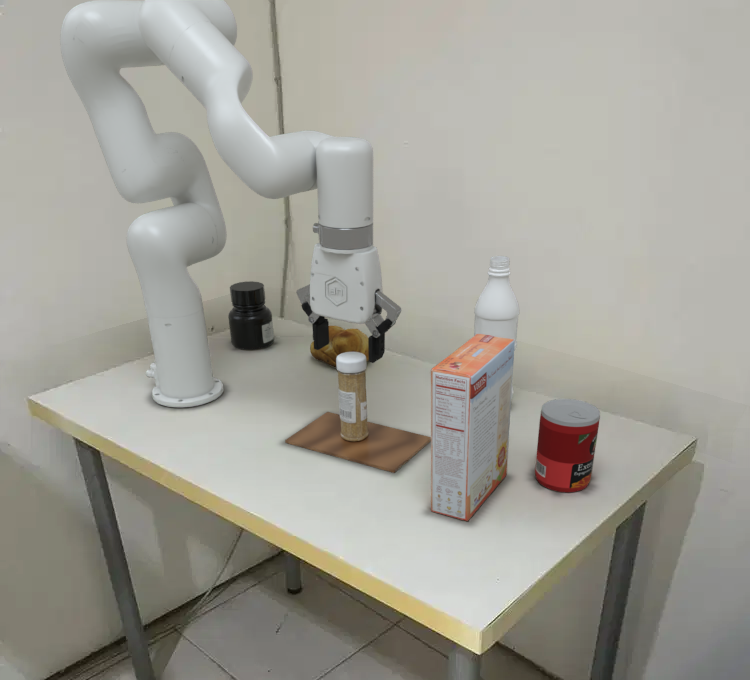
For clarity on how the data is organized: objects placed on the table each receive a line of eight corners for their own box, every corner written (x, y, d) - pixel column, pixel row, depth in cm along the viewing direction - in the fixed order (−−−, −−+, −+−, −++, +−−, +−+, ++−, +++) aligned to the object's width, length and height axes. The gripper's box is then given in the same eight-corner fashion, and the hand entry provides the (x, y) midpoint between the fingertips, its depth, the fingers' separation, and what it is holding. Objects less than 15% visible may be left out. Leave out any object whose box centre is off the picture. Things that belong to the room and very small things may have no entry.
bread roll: (300, 362, 151) (297, 322, 147) (333, 347, 158) (331, 309, 154) (349, 377, 144) (348, 336, 140) (382, 361, 151) (381, 321, 147)
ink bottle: (278, 348, 158) (272, 290, 152) (234, 353, 156) (227, 295, 150) (270, 333, 166) (264, 277, 160) (229, 338, 164) (222, 281, 158)
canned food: (579, 499, 106) (590, 427, 100) (525, 484, 110) (532, 414, 104) (597, 475, 112) (608, 405, 106) (545, 461, 115) (553, 393, 109)
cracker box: (469, 467, 114) (476, 331, 103) (507, 476, 112) (518, 338, 101) (426, 511, 104) (428, 366, 93) (467, 523, 102) (474, 375, 91)
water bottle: (464, 411, 131) (471, 262, 117) (476, 395, 136) (483, 251, 123) (506, 417, 128) (517, 266, 115) (516, 400, 134) (528, 254, 121)
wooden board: (285, 442, 122) (284, 440, 122) (327, 414, 131) (327, 411, 131) (394, 473, 113) (394, 470, 113) (432, 440, 122) (432, 437, 122)
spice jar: (374, 437, 122) (372, 357, 115) (349, 445, 120) (346, 363, 113) (358, 427, 125) (355, 348, 118) (334, 434, 123) (330, 354, 116)
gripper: (279, 233, 108) (286, 350, 117) (386, 251, 100) (385, 373, 109) (310, 223, 113) (315, 334, 122) (414, 238, 105) (410, 356, 115)
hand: (348, 353), depth 116 cm, fingers open, 9 cm apart
